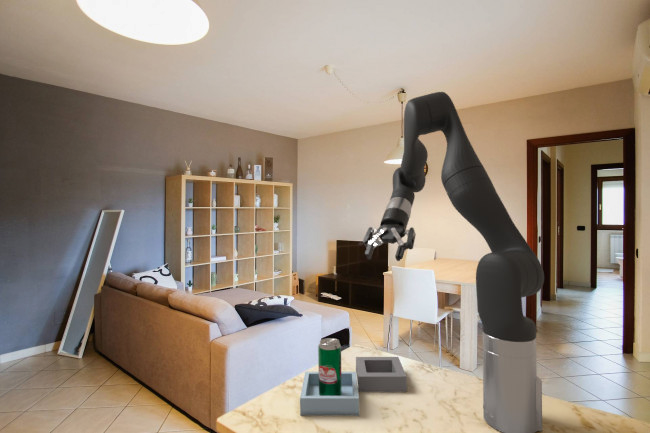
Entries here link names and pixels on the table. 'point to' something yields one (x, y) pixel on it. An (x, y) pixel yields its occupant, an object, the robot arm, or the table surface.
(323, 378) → the soda can
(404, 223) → the robot arm
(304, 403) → the parts tray
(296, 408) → the table surface
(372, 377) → the socket block
